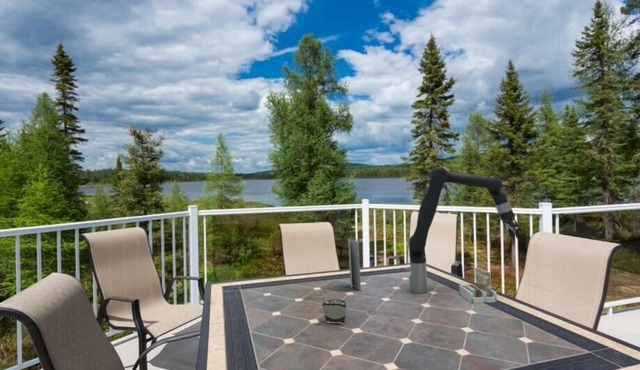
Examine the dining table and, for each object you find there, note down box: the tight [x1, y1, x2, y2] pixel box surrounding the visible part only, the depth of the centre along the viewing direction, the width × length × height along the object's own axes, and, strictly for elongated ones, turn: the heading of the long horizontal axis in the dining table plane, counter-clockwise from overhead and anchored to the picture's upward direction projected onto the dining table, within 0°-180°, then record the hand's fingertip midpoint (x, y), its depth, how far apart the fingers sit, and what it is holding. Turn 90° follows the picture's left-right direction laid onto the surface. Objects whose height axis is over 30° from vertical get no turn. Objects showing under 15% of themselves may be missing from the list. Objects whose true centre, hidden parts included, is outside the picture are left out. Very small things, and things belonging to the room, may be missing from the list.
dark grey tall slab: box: [347, 238, 362, 291], centre depth 233 cm, size 14×6×30 cm, turn 179°
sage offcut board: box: [463, 284, 476, 298], centre depth 202 cm, size 2×10×6 cm, turn 0°
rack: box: [458, 283, 498, 304], centre depth 202 cm, size 13×17×5 cm
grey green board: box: [474, 267, 492, 297], centre depth 202 cm, size 3×12×15 cm, turn 0°
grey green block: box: [468, 284, 480, 298], centre depth 202 cm, size 2×10×6 cm, turn 0°
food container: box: [321, 298, 348, 324], centre depth 177 cm, size 12×6×10 cm, turn 71°
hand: (515, 237), depth 211 cm, fingers open, 8 cm apart
